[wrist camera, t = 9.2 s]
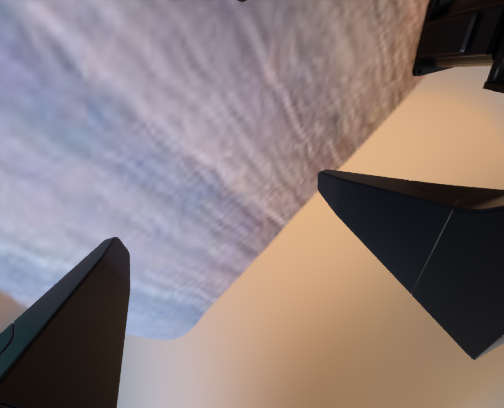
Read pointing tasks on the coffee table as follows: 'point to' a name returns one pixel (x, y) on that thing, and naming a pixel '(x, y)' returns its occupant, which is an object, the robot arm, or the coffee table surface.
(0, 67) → the coffee table surface
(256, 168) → the coffee table surface
